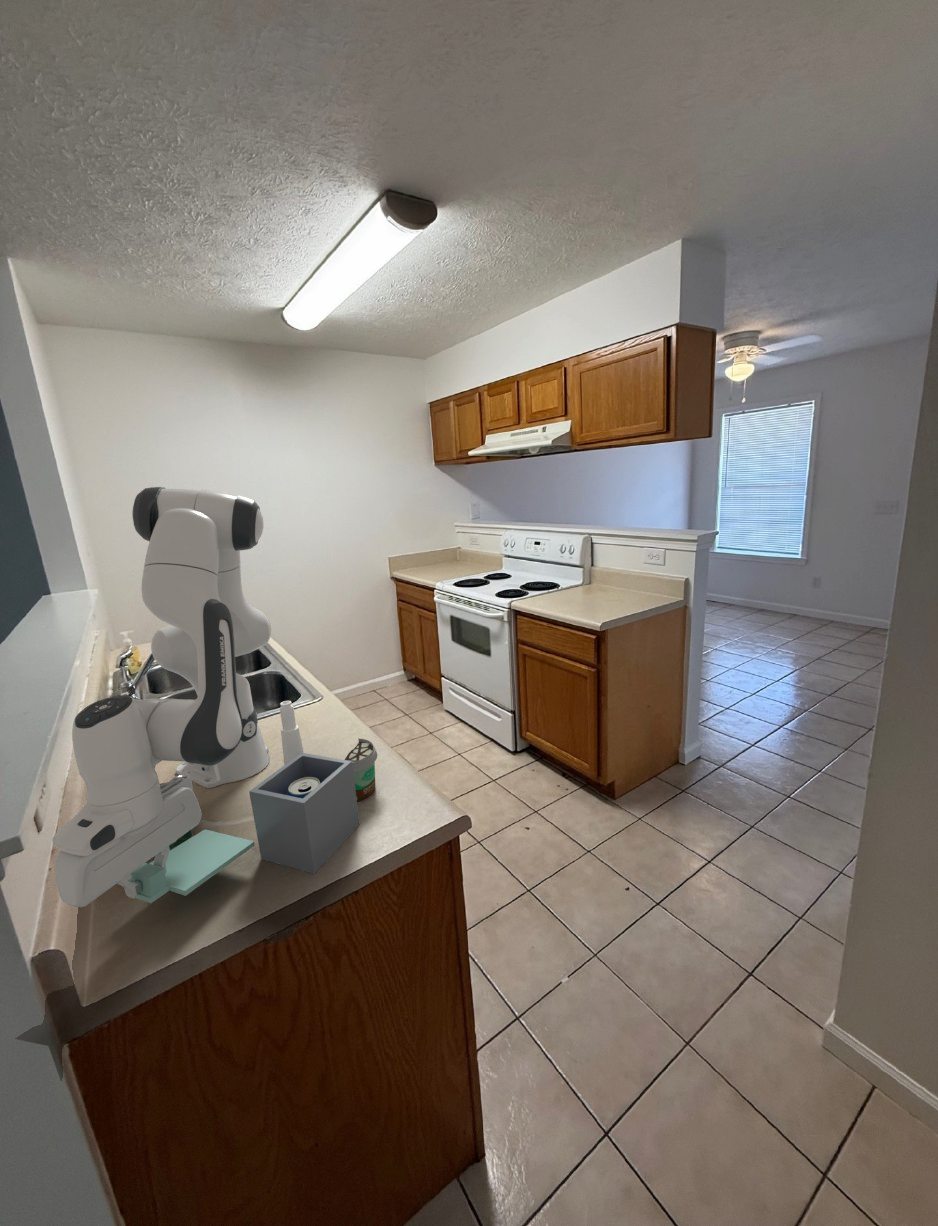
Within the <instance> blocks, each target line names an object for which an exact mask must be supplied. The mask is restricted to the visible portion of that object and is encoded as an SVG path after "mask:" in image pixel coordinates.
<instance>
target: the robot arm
mask: <svg viewBox="0 0 938 1226" xmlns="http://www.w3.org/2000/svg"><path fill="white" fill-rule="evenodd" d="M131 512H132V513H131V514H132V515H131V517H132V521H133V527H134V530H135V532H136V533H137V534H138V535H139V536H140V537H141V538H142V539H144V540H145V541H147V542H148V546H147V550H146V554H145V559H144V565H143V572H142V579H141V596H142V601H143V603H144V604H145V606H146V608H147V609H148V610H149V611H150V612H151V614H153V615H154V616H155V617H156V618H158V619H159V620H161V621H162V622H164V623H166V624H168V625H166V626H164V627H161V628H159V629H158V630H156V631H155V633H154V634H153V637H152V640H151V642H150V643H151V644H150V650H151V654H152V656H153V659H154V660H155V662H156V663H157V664H158V665H159V666H160V667H161V668H163V669H165V670H166V671H169V672H173V673H175V674H176V675H179V676H181V677H182V678H184V679H185V680H186V681H188V683H189V684H190V685H191V687H192V688H193V689H194V690H195V693H196V696H197V698H196V699H178V698H149V699H139V698H138V699H137V698H133V697H131V696H129V695H122V694H121V695H114V696H109V697H106V698H103V699H100V700H97V701H94V702H93V703H91V704H89V705H87V706H85V708H83V709H82V710H81V711H79V712H78V713H77V715H76V716H75V718H74V720H73V723H72V731H71V740H72V747H73V748H72V749H73V754H74V758H75V759H74V760H75V763H76V766H77V771H78V774H79V776H80V777H81V779H83V782H85V785H86V793H85V798H86V799H85V800H86V804H85V805H84V806H83V807H82V809H80V810H79V811H78V812H77V814H75V815H74V816H73V817H72V818H71V819H70V820H69V821H68V822H67V823H66V824H64V826H62V828H60V829H59V830H58V831H57V832H56V833H55V834H54V836H53V837H52V840H51V841H52V845H53V847H54V848H55V849H57V850H59V853H58V855H56V858H55V862H54V874H55V880H56V882H55V883H56V887H57V891H58V895H59V898H60V900H61V901H62V902H63V903H64V904H67V905H68V906H71V907H77V908H85V907H86V906H88V905H89V904H91V903H92V902H93V901H95V900H96V899H97V898H98V897H100V896H102V895H103V894H104V893H106V892H107V891H108V890H109V889H111V888H113V887H114V886H115V885H118V886H120V887H122V888H124V892H125V895H126V897H128V898H130V899H136V898H135V897H136V896H137V895H139V894H140V893H141V892H142V891H143V888H141V887H142V884H141V882H139V881H137V882H136V880H132V881H131V882H129V881H128V880H130V879H131V878H132V876H131V873H132V872H133V871H135V870H136V869H137V868H139V867H140V866H141V865H143V864H144V863H148V861H149V860H151V859H153V858H154V860H153V861H154V864H153V865H155V866H158V867H162V868H165V873H167V870H166V865H165V864H166V861H167V858H168V855H169V852H170V849H169V845H170V844H172V843H173V842H174V841H176V840H177V839H178V838H180V837H181V836H183V835H184V834H185V833H187V832H188V831H189V830H192V829H194V828H195V827H196V826H198V825H199V824H200V822H201V819H202V815H203V813H202V810H201V807H200V803H199V800H198V798H197V797H196V794H195V792H194V786H193V782H194V783H196V784H198V785H200V786H202V787H204V788H206V789H211V788H214V787H218V786H221V785H224V784H227V783H234V782H238V781H242V780H245V779H249V778H250V777H252V776H254V775H256V774H258V773H260V772H261V771H263V770H264V769H265V768H266V767H267V766H268V764H269V763H270V757H269V754H268V752H269V747H268V745H266V744H265V742H264V741H265V740H264V737H263V734H262V732H261V731H262V730H261V728H260V725H259V721H258V713H257V711H256V708H255V707H254V704H253V697H252V693H251V692H252V691H251V687H250V686H251V685H250V683H249V681H248V679H247V678H246V677H245V676H243V675H242V674H240V673H237V669H236V668H237V666H236V657H240V656H243V655H248V654H250V653H253V652H254V651H257V650H258V649H260V648H262V647H264V646H266V645H268V643H269V641H270V638H271V635H272V625H271V622H270V620H269V618H268V617H267V615H266V613H264V612H263V611H262V610H260V609H258V608H256V607H254V606H252V605H251V604H250V603H249V601H247V599H246V598H245V596H244V593H243V587H242V577H241V576H242V575H241V574H242V573H241V572H242V571H241V570H242V569H241V551H246V550H247V551H248V550H251V549H253V548H254V547H256V546H257V545H258V543H259V540H260V539H261V537H262V534H263V531H264V518H263V515H262V511H261V507H260V506H259V505H258V503H257V502H256V501H255V500H254V499H251V498H248V497H246V496H243V495H239V494H238V495H237V496H235V495H231V494H227V493H223V492H218V491H212V490H206V489H201V490H198V489H185V488H165V487H164V486H154V487H153V486H151V487H146V488H144V489H143V490H141V491H139V493H137V494H136V496H135V498H134V502H133V506H132V511H131ZM162 761H164V762H165V761H167V762H180V764H178V765H177V767H176V769H175V774H177V775H176V776H174V777H173V778H172V779H170V780H169V781H167V783H166V782H163V783H164V784H163V785H161V786H160V784H161V783H160V780H159V776H158V773H157V771H156V769H155V768H156V766H157V765H158V764H160V762H162ZM154 856H155V857H154Z"/></svg>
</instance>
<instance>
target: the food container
mask: <svg viewBox="0 0 938 1226" xmlns="http://www.w3.org/2000/svg"><path fill="white" fill-rule="evenodd" d="M377 758H378V753H377V749H376V746H375V745H374V743H373V742H372V741H370V740H368V739H365V738H358V743H357V744H356V745H355V746H354V748H352V749H351V750H350V751H349V752H348V753H347V755H346V756H345V758H344V760H348V761H352V767H353V775H354V783H355V791H356V799H357V804H358V803H361V802H364V801H366V800H367V799H369V798H371V797H372V796H373V795H374V794H375V792H376V767H375V763H376V761H377Z"/></svg>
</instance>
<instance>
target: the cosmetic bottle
mask: <svg viewBox="0 0 938 1226" xmlns="http://www.w3.org/2000/svg"><path fill="white" fill-rule="evenodd" d="M292 704H293V703H292V701H291V700H284V701H282V702H280V703H279V705H280V707H279V713H280V714H279V715H280V719H281V725H282V726H281V729H280V733H281V745H282V746H281V747H282V754H283V763H284V765H286V764H287V763H288V762H290V761H291V760H292V759H294V758H295V757H297V756H298V755H299V754H301V753H305V751H304V747H303V741H302V735H301V732H300V727H299V725H298V724H297V722H296V716H295V708H294V705H292ZM284 765H283V766H284Z"/></svg>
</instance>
